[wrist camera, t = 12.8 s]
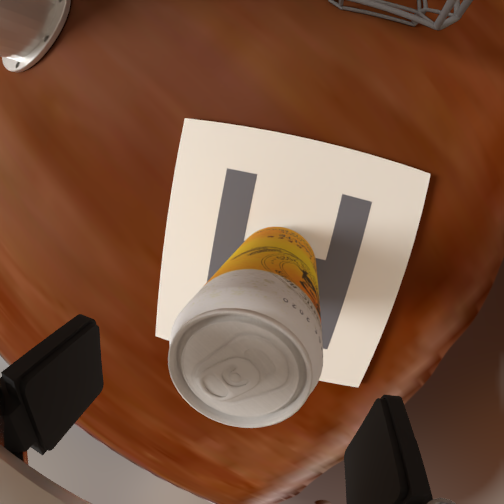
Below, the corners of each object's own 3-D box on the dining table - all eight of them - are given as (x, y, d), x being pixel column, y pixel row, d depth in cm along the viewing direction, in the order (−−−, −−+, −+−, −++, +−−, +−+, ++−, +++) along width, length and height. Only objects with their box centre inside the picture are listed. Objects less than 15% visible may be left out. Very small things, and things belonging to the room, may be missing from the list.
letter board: (188, 119, 24) (184, 118, 23) (427, 173, 22) (430, 173, 21) (158, 332, 29) (155, 336, 29) (357, 382, 27) (358, 387, 26)
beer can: (330, 272, 24) (354, 397, 10) (268, 311, 26) (225, 448, 12) (286, 209, 24) (254, 263, 9) (224, 253, 25) (129, 347, 11)
